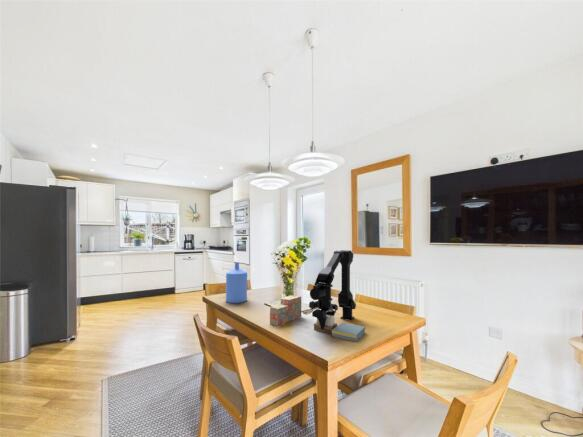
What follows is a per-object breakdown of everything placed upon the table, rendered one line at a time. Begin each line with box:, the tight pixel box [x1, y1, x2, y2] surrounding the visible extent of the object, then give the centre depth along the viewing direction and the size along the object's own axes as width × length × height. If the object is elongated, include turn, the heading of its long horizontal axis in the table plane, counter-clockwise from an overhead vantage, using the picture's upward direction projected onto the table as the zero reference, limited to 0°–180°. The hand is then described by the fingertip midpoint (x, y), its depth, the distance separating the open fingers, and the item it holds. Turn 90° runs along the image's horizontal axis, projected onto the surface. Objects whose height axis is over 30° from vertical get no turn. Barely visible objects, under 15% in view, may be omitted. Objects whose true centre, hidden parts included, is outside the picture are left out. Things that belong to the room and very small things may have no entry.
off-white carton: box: [325, 315, 335, 326], centre depth 136 cm, size 4×4×4 cm
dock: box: [331, 322, 366, 342], centre depth 130 cm, size 13×12×3 cm
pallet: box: [313, 321, 338, 335], centre depth 137 cm, size 7×10×3 cm
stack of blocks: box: [269, 295, 302, 327], centre depth 153 cm, size 21×6×12 cm, turn 142°
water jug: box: [225, 262, 248, 304], centre depth 199 cm, size 16×16×28 cm
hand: (325, 327), depth 137 cm, fingers open, 7 cm apart
